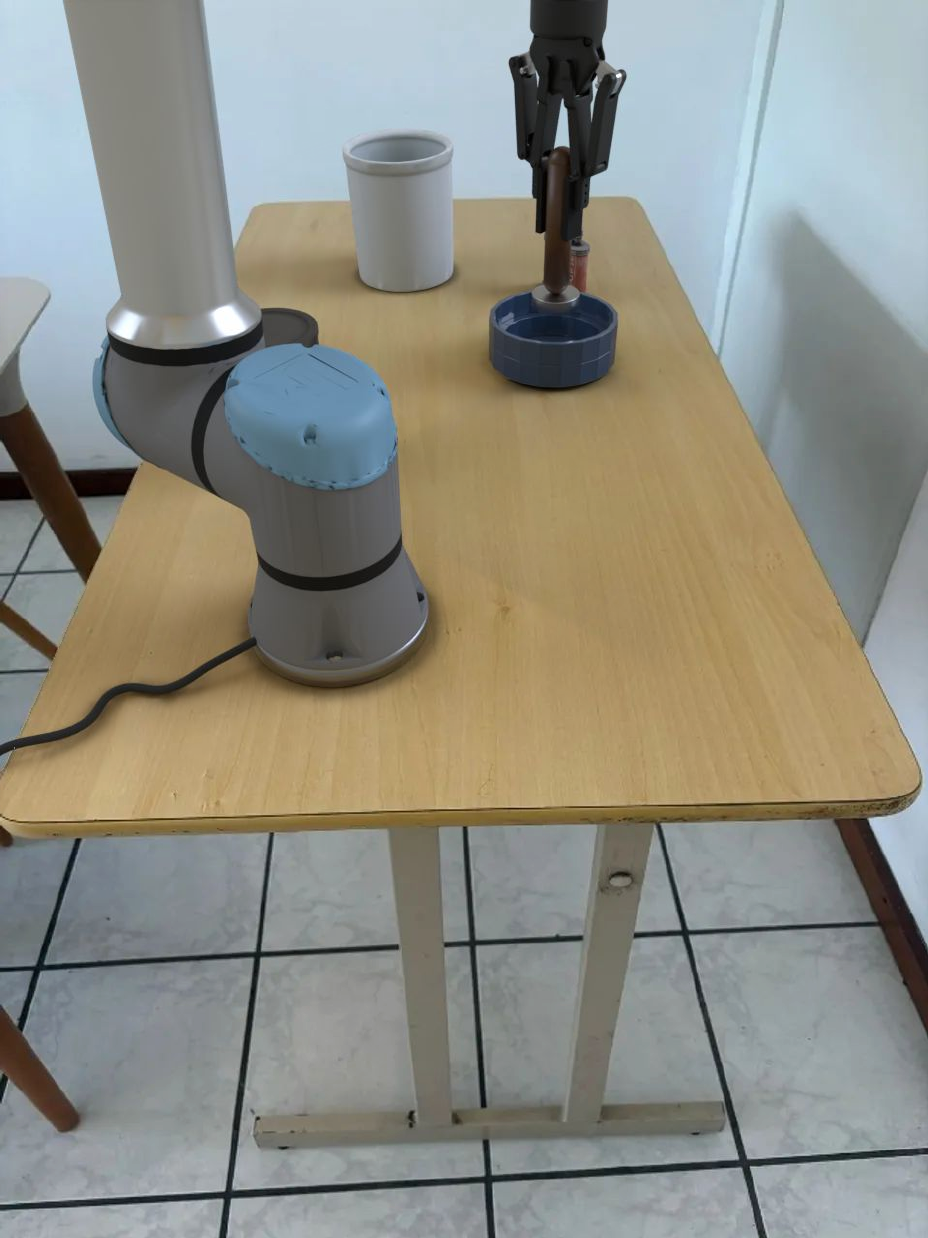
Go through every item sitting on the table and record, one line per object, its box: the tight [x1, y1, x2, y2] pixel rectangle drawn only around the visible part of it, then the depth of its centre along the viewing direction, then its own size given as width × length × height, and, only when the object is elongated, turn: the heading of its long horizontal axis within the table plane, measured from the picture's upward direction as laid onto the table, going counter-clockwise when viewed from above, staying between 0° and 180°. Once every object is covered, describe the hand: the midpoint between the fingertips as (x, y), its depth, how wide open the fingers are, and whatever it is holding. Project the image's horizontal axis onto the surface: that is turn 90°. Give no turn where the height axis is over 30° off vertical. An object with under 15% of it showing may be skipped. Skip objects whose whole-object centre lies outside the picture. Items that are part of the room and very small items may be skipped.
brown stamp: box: [531, 145, 580, 316], centre depth 107 cm, size 6×6×18 cm
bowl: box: [488, 289, 619, 388], centre depth 116 cm, size 15×15×6 cm
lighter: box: [541, 227, 591, 293], centre depth 129 cm, size 8×3×10 cm, turn 34°
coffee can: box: [261, 307, 320, 348], centre depth 98 cm, size 10×10×14 cm
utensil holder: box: [342, 128, 454, 293], centre depth 133 cm, size 15×15×18 cm
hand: (558, 232), depth 108 cm, fingers closed on brown stamp, 3 cm apart
